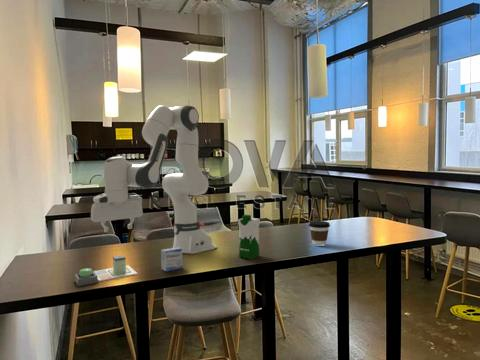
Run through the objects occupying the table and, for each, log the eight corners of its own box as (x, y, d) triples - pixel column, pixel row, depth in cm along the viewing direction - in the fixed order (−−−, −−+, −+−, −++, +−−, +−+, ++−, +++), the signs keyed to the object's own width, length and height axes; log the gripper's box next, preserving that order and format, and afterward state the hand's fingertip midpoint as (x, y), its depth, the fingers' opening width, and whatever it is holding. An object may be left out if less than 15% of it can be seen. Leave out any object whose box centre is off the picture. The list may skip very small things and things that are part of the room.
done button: (90, 275, 146) (90, 267, 146) (93, 278, 142) (92, 270, 142) (78, 277, 143) (78, 269, 143) (80, 280, 140) (80, 272, 140)
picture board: (128, 266, 161) (128, 264, 161) (137, 274, 151) (137, 272, 150) (91, 272, 153) (91, 271, 153) (98, 281, 142) (98, 280, 142)
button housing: (93, 277, 148) (93, 271, 148) (97, 282, 142) (97, 275, 142) (74, 280, 144) (74, 274, 144) (78, 286, 138) (77, 279, 138)
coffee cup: (304, 245, 194) (304, 222, 193) (317, 241, 202) (317, 220, 201) (321, 249, 186) (321, 225, 185) (334, 245, 193) (334, 222, 193)
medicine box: (165, 272, 153) (165, 251, 153) (161, 269, 157) (160, 249, 156) (182, 268, 158) (182, 248, 157) (178, 265, 162) (177, 246, 161)
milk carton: (236, 257, 173) (235, 215, 171) (246, 253, 180) (246, 212, 179) (252, 260, 168) (251, 217, 166) (262, 256, 175) (262, 214, 174)
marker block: (123, 269, 156) (122, 255, 155) (125, 271, 152) (125, 257, 152) (113, 270, 154) (112, 256, 153) (115, 273, 150) (115, 258, 150)
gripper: (139, 193, 159) (140, 225, 160) (88, 198, 148) (90, 232, 149) (144, 195, 154) (145, 228, 155) (92, 199, 143) (94, 235, 144)
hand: (118, 230), depth 152 cm, fingers open, 8 cm apart
